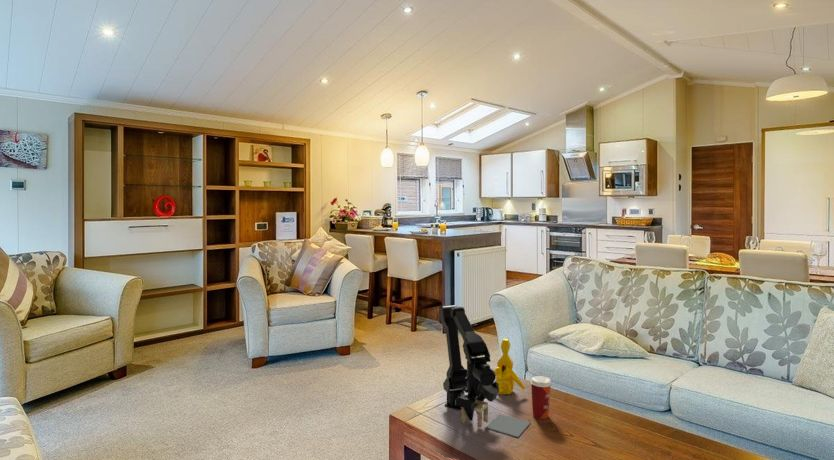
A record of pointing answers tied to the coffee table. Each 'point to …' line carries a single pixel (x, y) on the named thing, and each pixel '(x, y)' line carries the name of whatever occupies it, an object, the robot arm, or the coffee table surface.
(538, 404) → the paper cup
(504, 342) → the figure statuette
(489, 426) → the felt pad
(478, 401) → the stool
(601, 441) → the coffee table surface
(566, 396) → the coffee table surface
